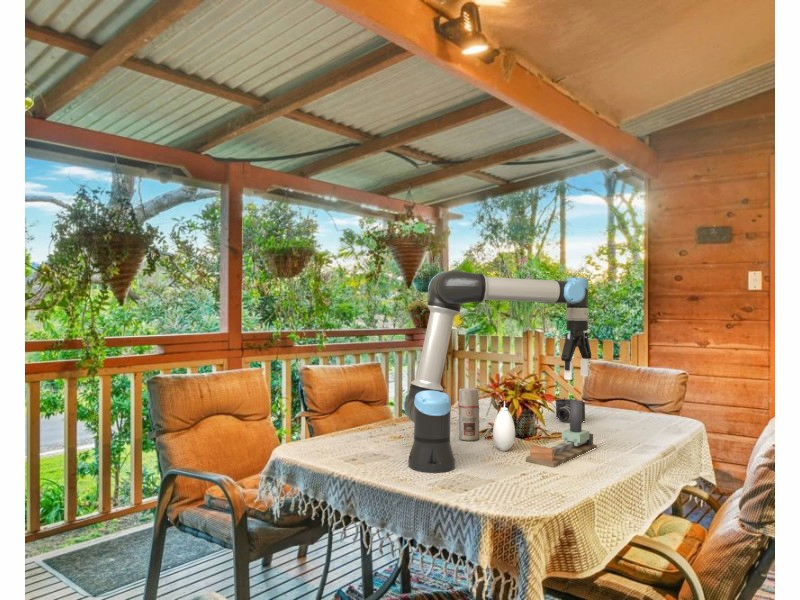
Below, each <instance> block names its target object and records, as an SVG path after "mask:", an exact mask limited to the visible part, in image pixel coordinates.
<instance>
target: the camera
mask: <svg viewBox="0 0 800 600" xmlns="http://www.w3.org/2000/svg"><path fill="white" fill-rule="evenodd" d="M571 400H577V399H573V398H570V399H566V397H563V398H557V399H556V400H555V418H556V417H558V418H559V419H558V418H557V419H558V420H559V421H560V422H563V423H566V422H567V421H569V422H570V401H571ZM578 401H582V422H583V421H585V422H586V404H585V401H583V400H578ZM567 423H568V422H567Z"/></svg>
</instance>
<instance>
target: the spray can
mask: <svg viewBox="0 0 800 600" xmlns="http://www.w3.org/2000/svg"><path fill="white" fill-rule="evenodd" d="M458 436H459V437H458V439H459V440H461V441H478V440H479V439H480V404H479V389H477V388H467V387H465V388H459V391H458Z"/></svg>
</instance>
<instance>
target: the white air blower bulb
mask: <svg viewBox="0 0 800 600" xmlns="http://www.w3.org/2000/svg"><path fill="white" fill-rule="evenodd" d="M515 427H516V426H515V422H514V418H513V416H512V414H511V413H510V411H509V408H508V407H506V401H505V400H504V401H503V407H500V411H499V412H498V413H497V414H496V417H495V419H494V423H493V427H492V438H493V441H494V444H495V446H496V447H497V448H498V449H499V450H500V451H501V452H507V451H509V449H510V448H512V447H513V445H514V443H515V439H516V428H515Z"/></svg>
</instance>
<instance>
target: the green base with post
mask: <svg viewBox="0 0 800 600" xmlns="http://www.w3.org/2000/svg"><path fill="white" fill-rule="evenodd" d="M582 401H583V400H582ZM582 401H579V400H578V399H576V400H575V399H573V400H571V401H570V421H569V428H567V429H565V430H564V429H563V430H562V431H561V440H562V441H563V443H566V442H568V441H572V442H574V446H579V445H581V444H584V443H586V442H587V440H589V435H590V433H591V432H590V430H587V429H586V430H585V429H582V427H583V426H582V424H583V423H582Z"/></svg>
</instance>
